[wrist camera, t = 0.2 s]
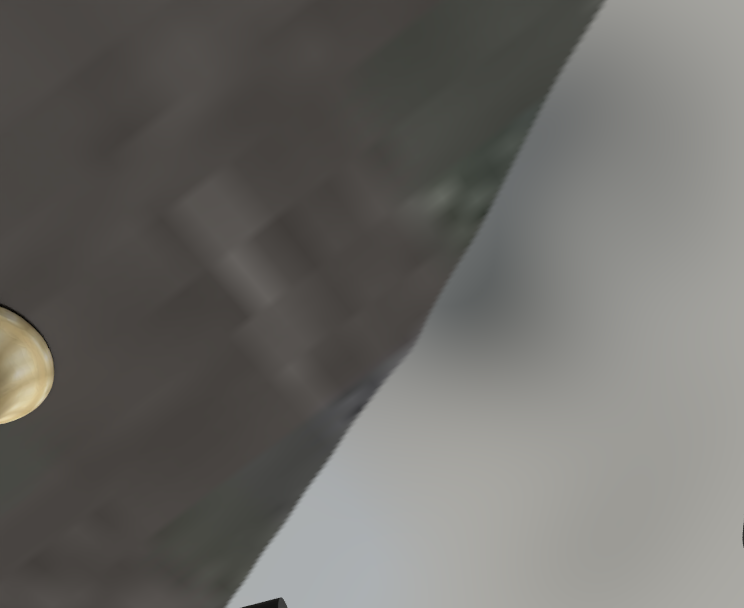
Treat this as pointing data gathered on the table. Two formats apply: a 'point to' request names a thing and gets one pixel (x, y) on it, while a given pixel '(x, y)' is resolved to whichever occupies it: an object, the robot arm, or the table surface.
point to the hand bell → (22, 367)
